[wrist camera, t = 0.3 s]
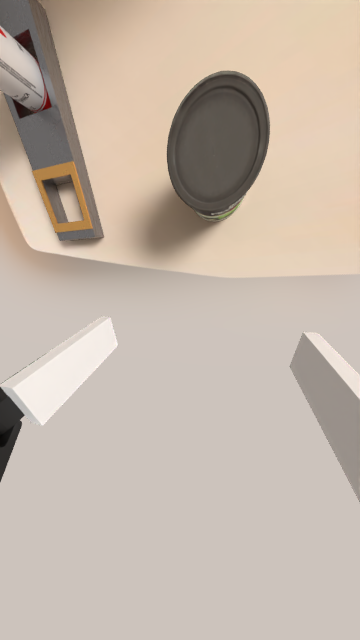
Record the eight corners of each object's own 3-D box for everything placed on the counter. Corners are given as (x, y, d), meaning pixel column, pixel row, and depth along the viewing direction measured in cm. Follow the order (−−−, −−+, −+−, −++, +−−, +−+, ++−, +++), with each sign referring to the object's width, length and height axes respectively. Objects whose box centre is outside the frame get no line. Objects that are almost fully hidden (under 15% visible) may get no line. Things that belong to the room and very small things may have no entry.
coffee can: (259, 190, 27) (290, 152, 15) (210, 233, 32) (202, 232, 20) (226, 128, 25) (231, 24, 12) (178, 185, 29) (148, 150, 17)
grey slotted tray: (-2, 36, 26) (-29, 11, 23) (45, 10, 23) (20, -21, 20) (70, 240, 39) (58, 240, 37) (104, 237, 37) (94, 237, 34)
